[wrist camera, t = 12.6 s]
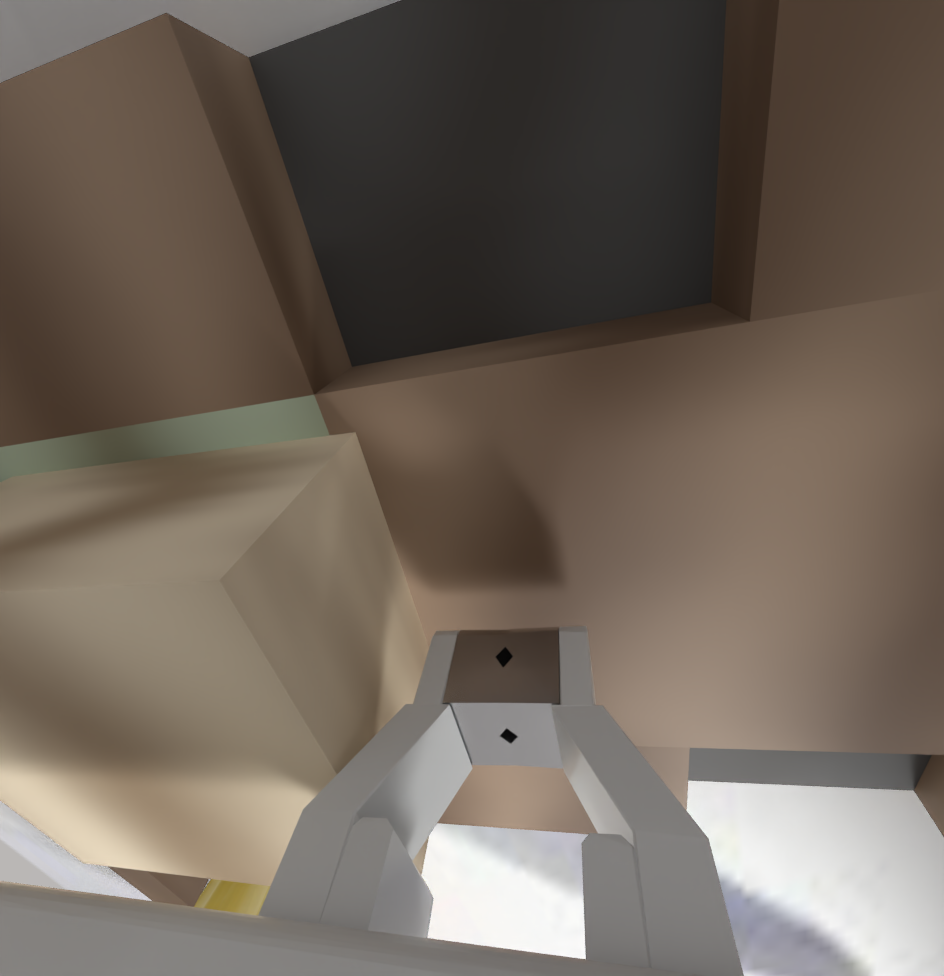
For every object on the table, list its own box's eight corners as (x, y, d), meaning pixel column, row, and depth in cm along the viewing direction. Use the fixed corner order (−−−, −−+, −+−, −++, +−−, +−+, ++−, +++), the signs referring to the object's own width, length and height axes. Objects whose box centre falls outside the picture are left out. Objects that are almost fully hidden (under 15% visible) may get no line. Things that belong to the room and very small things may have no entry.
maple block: (355, 432, 8) (219, 579, 5) (452, 715, 12) (415, 903, 9) (12, 476, 10) (-260, 605, 7) (195, 709, 14) (84, 863, 11)
